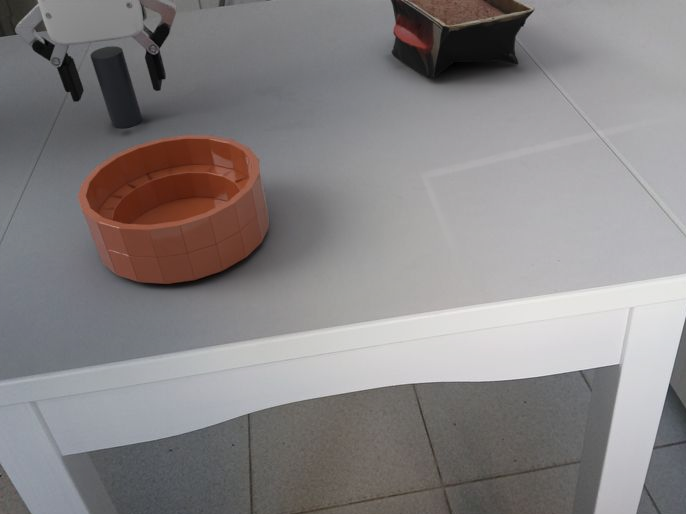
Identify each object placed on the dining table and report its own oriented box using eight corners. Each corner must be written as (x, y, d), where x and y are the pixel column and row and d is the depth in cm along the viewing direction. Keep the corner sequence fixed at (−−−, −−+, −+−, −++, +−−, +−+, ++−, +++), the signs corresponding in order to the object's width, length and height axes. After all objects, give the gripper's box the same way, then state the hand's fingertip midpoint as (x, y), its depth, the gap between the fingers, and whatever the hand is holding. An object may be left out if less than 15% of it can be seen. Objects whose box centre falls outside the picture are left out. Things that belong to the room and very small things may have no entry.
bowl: (89, 300, 60) (64, 240, 56) (111, 203, 71) (92, 147, 67) (273, 275, 61) (262, 214, 57) (266, 182, 72) (256, 125, 68)
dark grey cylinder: (110, 129, 83) (88, 60, 78) (114, 116, 86) (92, 48, 81) (140, 125, 84) (120, 56, 78) (143, 112, 86) (124, 44, 81)
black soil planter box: (480, 42, 98) (473, -40, 93) (547, 68, 84) (544, -26, 78) (382, 71, 97) (368, -10, 91) (432, 103, 82) (420, 9, 76)
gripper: (157, -102, 73) (195, 68, 85) (-15, -80, 73) (48, 88, 85) (151, -84, 68) (193, 95, 80) (-35, -61, 68) (35, 116, 79)
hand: (118, 90), depth 82 cm, fingers open, 8 cm apart
